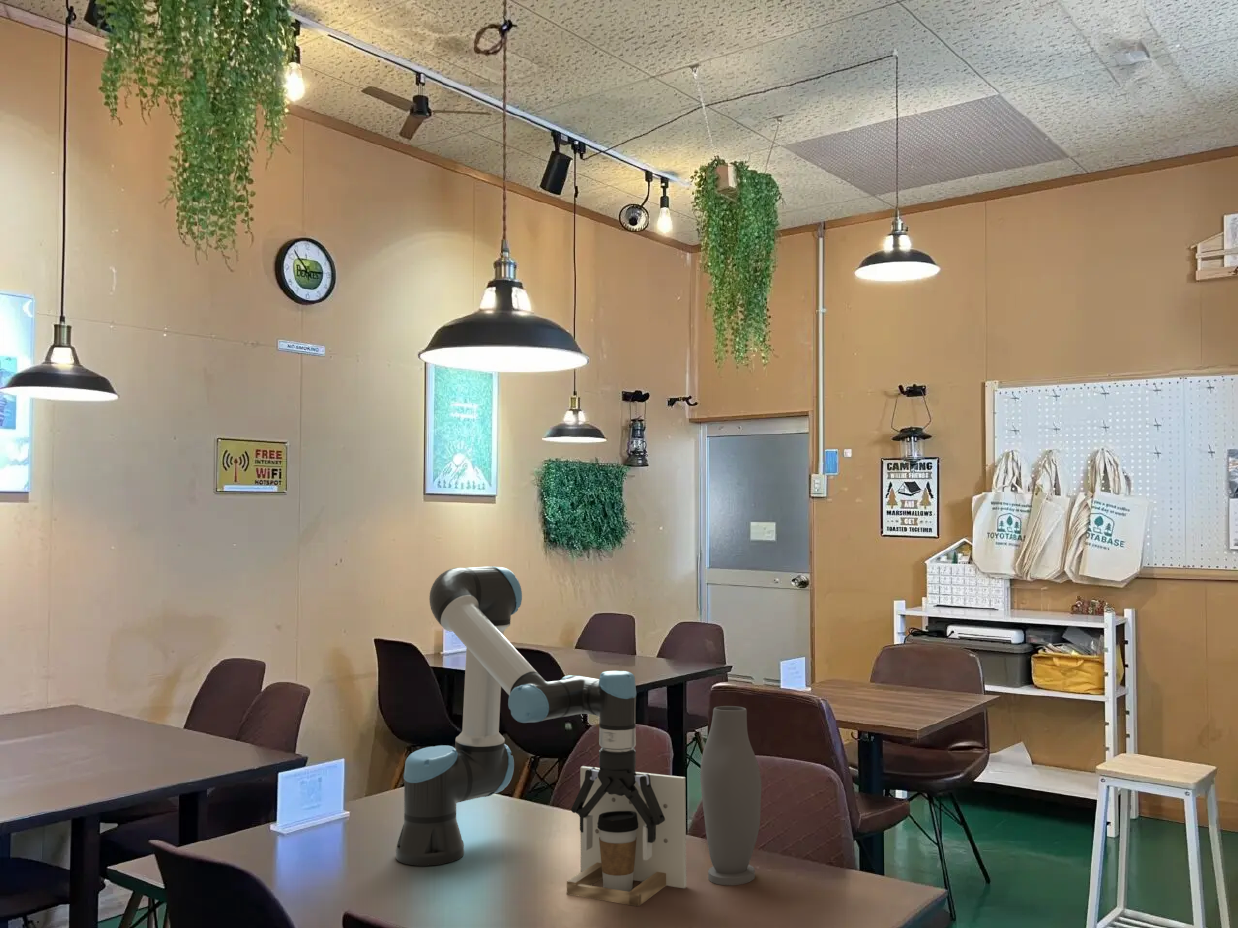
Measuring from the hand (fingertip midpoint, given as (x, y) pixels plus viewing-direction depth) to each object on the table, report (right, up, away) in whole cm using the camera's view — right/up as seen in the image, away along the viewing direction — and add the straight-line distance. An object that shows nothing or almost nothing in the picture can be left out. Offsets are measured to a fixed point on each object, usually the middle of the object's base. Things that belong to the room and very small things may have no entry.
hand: (617, 853), depth 209 cm
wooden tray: (0, -7, -1) cm, 7 cm away
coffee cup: (0, -7, -1) cm, 7 cm away
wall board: (+3, -7, +5) cm, 10 cm away
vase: (+24, -8, +7) cm, 26 cm away
